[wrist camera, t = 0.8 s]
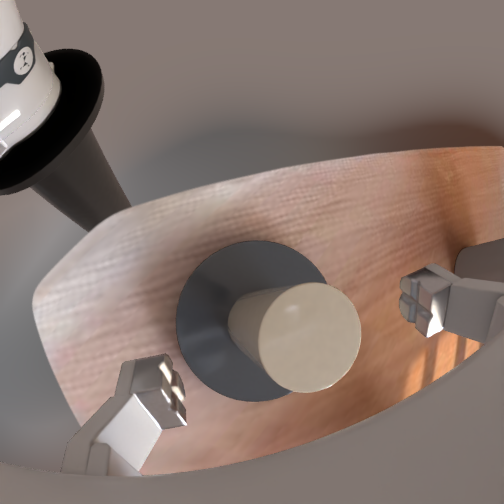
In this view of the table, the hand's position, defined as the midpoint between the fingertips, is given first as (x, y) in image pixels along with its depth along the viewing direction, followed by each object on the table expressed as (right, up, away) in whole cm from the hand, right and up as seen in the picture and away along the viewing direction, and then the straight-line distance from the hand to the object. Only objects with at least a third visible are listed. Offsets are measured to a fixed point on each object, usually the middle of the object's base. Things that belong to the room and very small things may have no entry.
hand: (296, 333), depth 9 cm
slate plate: (-1, -4, +20) cm, 20 cm away
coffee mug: (+35, -3, +28) cm, 45 cm away
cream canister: (-1, -4, +18) cm, 18 cm away
